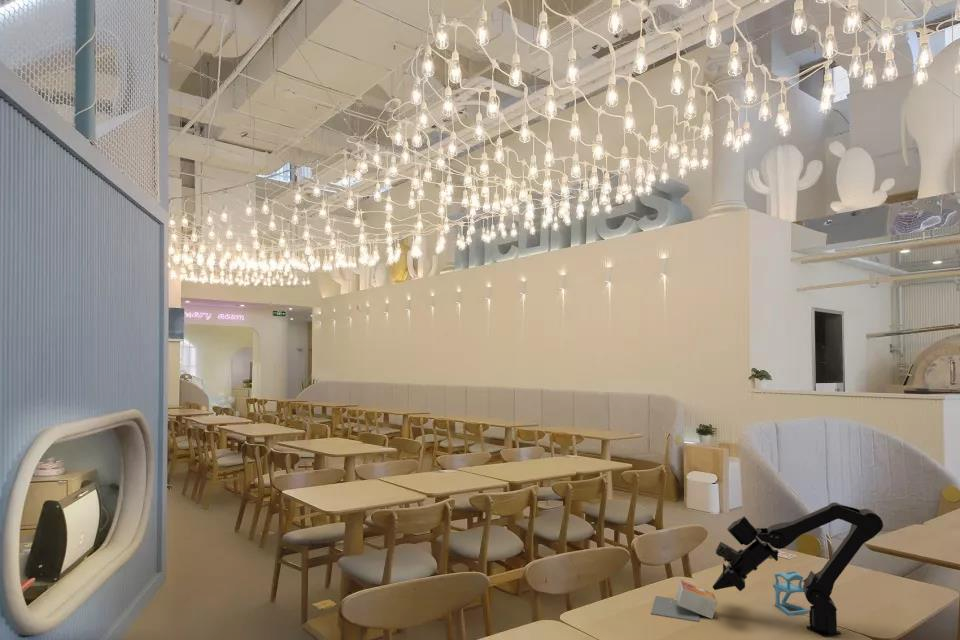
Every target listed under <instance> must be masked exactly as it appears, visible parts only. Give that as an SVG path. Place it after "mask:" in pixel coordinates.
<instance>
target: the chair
mask: <svg viewBox="0 0 960 640" xmlns="http://www.w3.org/2000/svg"><path fill="white" fill-rule="evenodd" d="M773 574H774V575H773V576H774V578H775V583H773V584H772V587H773V588H774V592H775V598H774V599H775V602H774V603H775V606H776V607H778V609H780V610H781V611H782V612H784V613H785V614H786V615H788V616H790V615H791V616H798V615H806V614H809V609H807V608H805V607H804V608H803V607H802V606H799V605H795V604H792V603H789V602H787V601H788V599H789V598H790V596H791V595H792V594H794V593H795V594H796V593H804V591H803V586H802V584H803V583H802V582H803V580H804V577H803V576H802V575H801V574H800V573H799V572H797V571H792V570H791V571H787V572H779V573H776V572H774V573H773ZM778 577H781V578H782V579H783V580H785V582H782V583H780V581H779V578H778ZM793 581H799V582H798V584H797V585H798V586H797V585H795V584H793V583H791V582H793ZM781 593H785V595H784V597H783V598H782V599H780V598H781V597H780V595H781ZM780 600H781V603H780ZM786 607H787V608H790V609H793V610H791V611H790V610H789V609H787V608H786Z"/></svg>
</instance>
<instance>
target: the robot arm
mask: <svg viewBox="0 0 960 640" xmlns="http://www.w3.org/2000/svg"><path fill="white" fill-rule="evenodd" d="M836 520H840V521H841V520H842V521H844V522H847V523H849V524H850V528H849V531H848V533H847V535H845V537H844V539H843V540H842V541H841V543H840V544H839V546H838V547H837V549H836V550H835V551H834V552H833V554H832V555H831V556H830V558H829V559H828V560H827V562H826V563H825V564H824V566H823V568H821V569H820V570H819V571H818V572H816V573H815V572H813V571H812V570H811V571H809V573H808V575H807V577H806V578H805V579H803V580H802V582H803V586H802V588H803V591H804V592H803V593H804V595H805V598H806V601H807V602H808V603H809V604H810V606H809V609H810V610H808V615H809V625H806V629H808V630H810V631H812V632H814V633H816V634H819V635H821V636H823V637H831V636H836V635H841V634H842V631H841V630H840V631H839V630H838V629H837V627H838V622H837V611H838V609H837V607H836V605H835V602H834V601H833V599H832V597H831V595H832V592H833V589H834V586H835V583H836V581H837V579H838V578H839V577H840V575H841V574H842V573H843V572H844V571H845V569H846V568H847V566H848V565H849V564H850V562H851V560H853V558H854V557H855V555H856V554H857V553H858V552H859V550H860V549H861V548H862V546H864V544H865V543H867V542H869V541H870V540H872V539H873V538H875V537H876V536H877V535H878V534H880V533H881V531H882V530H883V528H884V523H883V520H882V518H881V517H880V516H879V515H878V514H877V513H876V512H875V511H874V510H872V509H869V508H862V509H859V508H856V507H852V506H847V505H844V504H841V503H838V502H830V503H829V504H828V505H826V506H824V507H821V508H819V509H817V510H815V511H813V512H811V513H809V514H805V515H804V516H802V517H799V518H796V519H795V520H791V521H787V522H779V523H776V524H773V525H769V526H768V527H762V528H761V527H757V528H756V527H755V526H754V525H753V524H752V523H751V522H750V521H749V519H748V518H747V517H746V516H742V517H741V518H738V519H737V520H734V521H733V522H732V523H731V524H730V525H729V526H728V527H727V528H726V530H727V532H728V533H729V534H730V535H731V536H732V537H733V538H734V539H735V540H736V541H737V542H738V543H739V545H741V546H742V545H743V546H746V547H745V549H739V550H736V549H734V547H733V548H732V546H729V545H727V544H725V543H724V542H722V541H720V542H719V543H718V545H717V547H716V549H715V554H716V555H717V556H719V557H722V558H723V560H724V562H728V563H727V564H725V563H722V573H721V574H720V576H718V578H717V580H716V581H715V582H714V584H713V585H712V589H713V590H714V591H718V590H721V589H726V588H733V587H735V588H736V589H737V590H738V591H740V592H742V591H743V590H744V589H745V588H746V580H747V578H748V575H749V574H750V573H752V572H753V571H755V572H756V571H757V570H758V567H759V566H760V565H762V564H763V563H764V562H765V561H766V560H768V558H772V559H774V561H776V562H777V561H778V560H779V558H778V556H779V550H781V549H784V548H786V547H788V546H790V544H791V543H793V542H794V541H795V540H797V539H798V538H799V537H801V536H802V535H805V534H806V533H809V532H810V531H813V530H816V529H818V528H820V527H823V526H825V525H827V524H828V523H831V522H834V521H836Z"/></svg>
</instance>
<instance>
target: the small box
mask: <svg viewBox="0 0 960 640" xmlns="http://www.w3.org/2000/svg"><path fill="white" fill-rule="evenodd" d="M675 599H677V602H678V606H681V607H683V608H686V609H688V610H691V611H693V612H696V613H698V614H700V615H701V616H703V617H707V618H709V619H712V620H713V618H714V615H715V611H716V608H717V606H718V605H717V604H718V601H717V599H716V596H715V593H714V592H711V591H709V590H706V589H703V588H701V587H699V586H696V585H693V584H691V583H689V582H686V581H683V580H680V581H679V584H678V588H677V591H676V593H675Z"/></svg>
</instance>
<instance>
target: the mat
mask: <svg viewBox="0 0 960 640" xmlns="http://www.w3.org/2000/svg"><path fill="white" fill-rule="evenodd" d="M674 599H675V598H674V597H673V598H672V597H665V596H659V595H655V598H654V602H653V605H652V608H651V613H650V615H655V616H660V617H664V618H665V617H666V618H673V619H677V620H678V619H679V620H683V621H684V620H685V621H690V622H697V623H698V622H700V615H701V614H698V613H696V612H693V611H691V610H688V609H686V608H683V607H681V606H678V602H677V600H674ZM671 601H672V602H671Z"/></svg>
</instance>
